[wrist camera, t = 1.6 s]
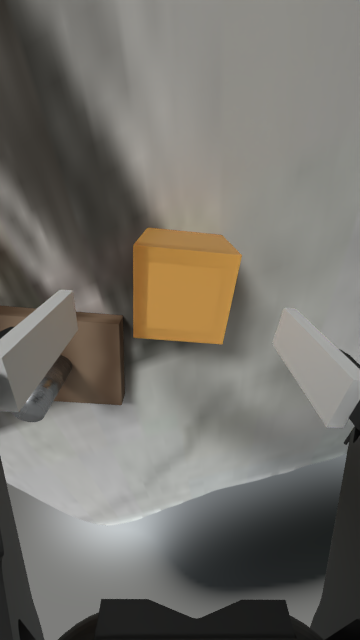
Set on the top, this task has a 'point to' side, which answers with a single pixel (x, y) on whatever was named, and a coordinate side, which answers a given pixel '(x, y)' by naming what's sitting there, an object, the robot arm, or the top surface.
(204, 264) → the orange cube block
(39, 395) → the post
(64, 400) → the base plate
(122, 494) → the top surface
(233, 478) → the top surface
